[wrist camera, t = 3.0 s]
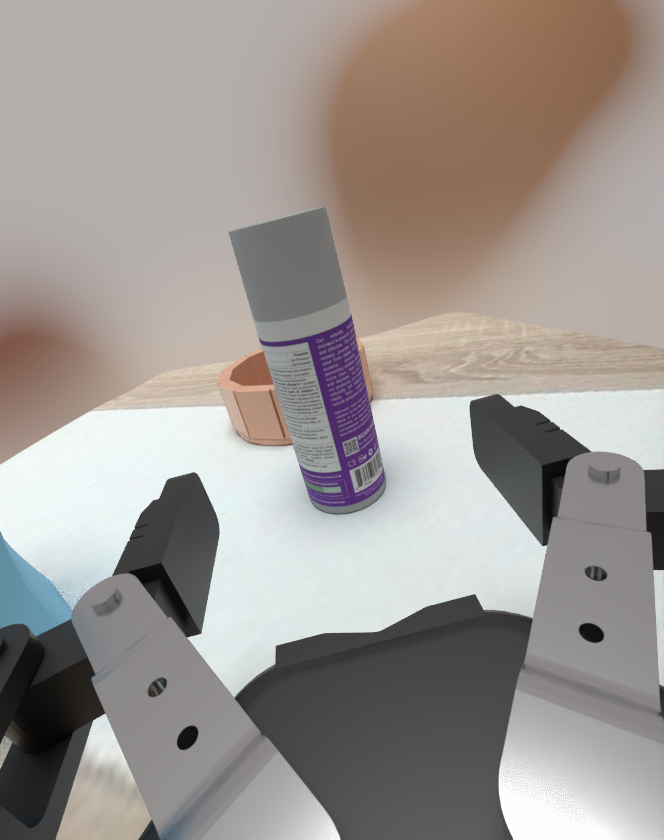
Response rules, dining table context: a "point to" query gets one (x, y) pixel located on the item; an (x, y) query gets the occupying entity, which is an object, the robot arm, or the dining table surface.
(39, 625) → the vase
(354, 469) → the container
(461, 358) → the dining table surface
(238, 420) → the faceted terracotta pot
